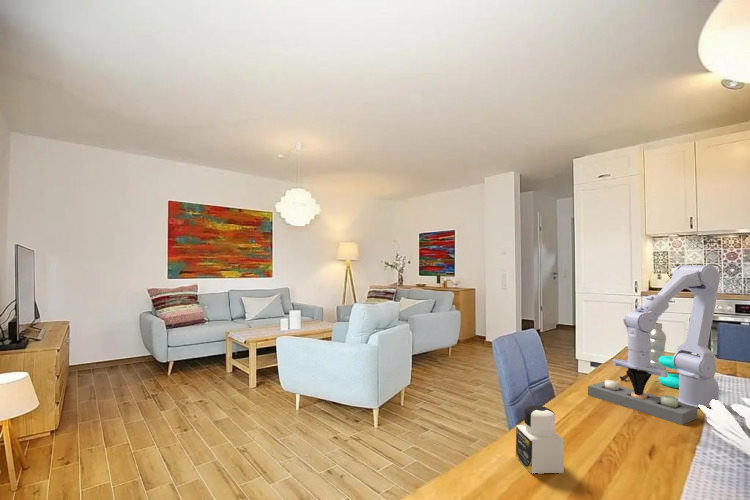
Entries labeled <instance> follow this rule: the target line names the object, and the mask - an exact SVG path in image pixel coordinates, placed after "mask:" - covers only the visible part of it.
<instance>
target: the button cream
mask: <svg viewBox="0 0 750 500" xmlns="http://www.w3.org/2000/svg"><path fill="white" fill-rule="evenodd" d="M604 382H605V389H608V390H612V391H615V392H616V391H619V386H620V382H619V381H616V380H611V379H605V380H604Z"/></svg>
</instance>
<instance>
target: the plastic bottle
mask: <svg viewBox="0 0 750 500" xmlns="http://www.w3.org/2000/svg"><path fill="white" fill-rule="evenodd" d="M662 329H663V324H662V323H661V322H656V326H655V328H654V329H653V330H652V331H651V338H650V365H651V366H654V367H657V368H660V369H664V370H667V367H665V366H663V365H661V364H660V363H659V358H660V357H661V356H666V354H665V349H666V343H667V342H666V341H667V336H666V334H665V332H664V331H663V330H662Z"/></svg>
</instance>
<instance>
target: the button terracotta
mask: <svg viewBox="0 0 750 500" xmlns="http://www.w3.org/2000/svg"><path fill="white" fill-rule="evenodd" d="M631 396H632V397H636V398H639V399H643V400H645V399H647V395H645V394H643V395H636V394H635V393H634V392H631Z"/></svg>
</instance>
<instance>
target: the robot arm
mask: <svg viewBox="0 0 750 500" xmlns="http://www.w3.org/2000/svg"><path fill="white" fill-rule="evenodd" d="M671 274H672V275H671V276H672V277H671V278H670V279H669V280H668V281H667V282H666V284H665V285H664V286H663V287H662V289H661V290H660V291H659V292H658V293H657V294H651V295H647V296H646V297H645V300H644V301H643V302H642V303H641V304H640V305H639V306H637V307H636V309H635V310H632V311H631V310H630V311H629V312H627V313H626V315H625V317H624V319H623V320H622V321H623V324H624V326H625V327H626V332H627V334H628V337H627V341H628V342H627V343H628V344H627V360H624V359H618V358H614V359H612V366H613V367H620V368H623V369H624V368H625V369H627V370H626V372H625V373H627V375H628V378H629V379H630V383H631V384H632V389H633V390H634V393H635V394H636V395H643V392H644V391H645V387H646V386H647V383H648V381H649V379H650V378H651V377H652V376H653V375H655V376H658V377H659V376H661V377H664V378H665V377H668V374H669V371H668V369H666V370H664V369H660V368H657V367H654V366H651V365H650V338H651V331H652V330H653V329H654V328H655V326H656V323H658V322H657V321H658V320H659V318H660V317H661V316H662V315H663V314H664V312H666V311H667V310H668V308H669V307H670V305H669V302H670V301H671V300H673V298H674V297H676V296H677V295H678V294H679V293H681V292H682V291H683V290H684V289H687V290H688V291H690V292H691V294H692V295H694V296H693V301H692V307H691V312H690V318H689V323H688V328H687V333H686V338H685V342H684V343H682V344H679V345H678V346H677V348H676V352H675V353H674V355H672V356H673V365H674V367H675V368H676V369H677V370H676V372H677V373H678V375H679V389H678V397H677V396H674V397H675V398H677V399H678V402H680V403H683V404H687V405H691V406H694V407H698V405H699V404H700V405H704V406H706V407H709V408H708V409H711V408H710V405H709V403H710V401H711V400H712V399H715V400H719V401H720V399H719V398H720V388H719V387H720V386H719V382H718V381H717V380H716V379H715V378H714V377H713V376H714V375H715V373H716V372H717V365H716V355H715V354H714V352H713V351H711V349H709V347H708V346H709V340H710V336H711V335H710V334H711V331H712V330H711V329H712V325H713V319H714V313H715V309H716V304H717V298H718V291H719V290H718V289H719V285H720V279H721V274H720V272H719V271H718V270H717V268H716V267H715V266H714V265H711V264H706V265H702V264H700V265H699V264H697V265H694V264H691V265H690V264H679V265H678V266H677V267H676V268H675V269H674V270H673V271H672V273H671Z"/></svg>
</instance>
